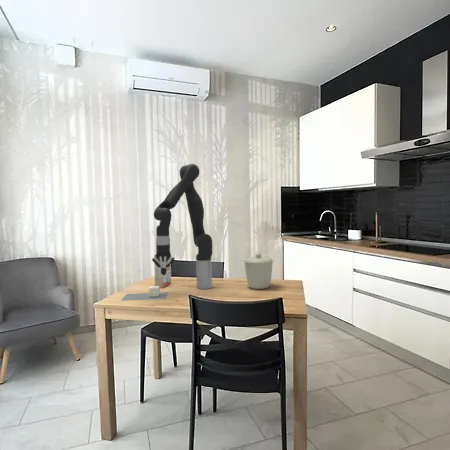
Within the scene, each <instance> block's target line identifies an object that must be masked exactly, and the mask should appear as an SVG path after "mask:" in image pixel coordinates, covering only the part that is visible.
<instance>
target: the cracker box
mask: <svg viewBox="0 0 450 450" xmlns="http://www.w3.org/2000/svg"><path fill="white" fill-rule="evenodd" d="M170 254H171V255H172V253H171V251H170ZM153 255H154V256H153V258H154V257H156V254H153ZM156 259H157V258H156ZM156 261H157V262H158V263H159V264H160V262H159V260H158V259H157V260H156ZM170 261H171V260H170V258H169V260H168V261H167V265H168V264H169V262H170ZM153 264H154V267H153V268H154V286H159V288H160V289H164V288H166V287H167V286H170V285H171V284H172V271H171V270H172V267H171V265H172V264H171V265H170V266H169V267H167V268H166V274H165V275H162V274H161V268H160V267H157V266H156V264H155V263H154V262H153ZM163 268H164V262H163Z"/></svg>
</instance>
